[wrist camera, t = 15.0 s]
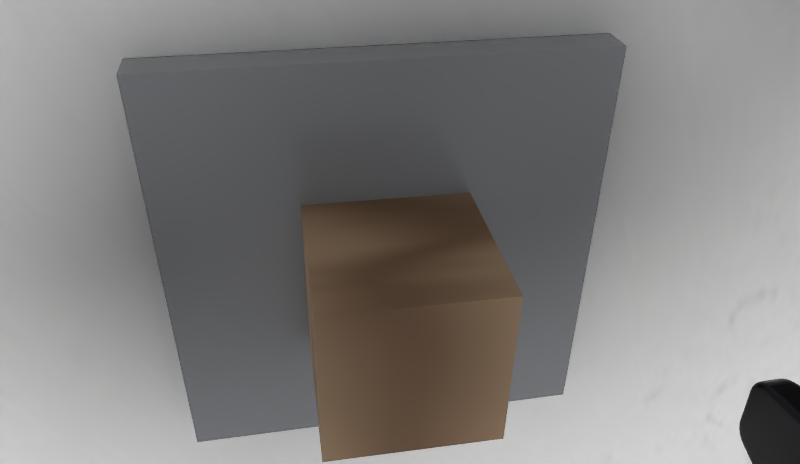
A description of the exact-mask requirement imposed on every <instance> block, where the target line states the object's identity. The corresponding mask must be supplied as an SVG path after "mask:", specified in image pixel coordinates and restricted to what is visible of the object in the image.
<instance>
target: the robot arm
mask: <svg viewBox="0 0 800 464" xmlns="http://www.w3.org/2000/svg"><path fill="white" fill-rule="evenodd" d="M739 429H740V436H741V439H742V442H743V444H744V447H745V449H746V451H747V453H748V455H749V457H750V460H751V462H752V464H800V386H799V385H798V384H796V383H794V382H792V381H790V380H787V379H774V380H768V381H761V382H758V383H756V384H755V385H754V386H753V387H752V389H751V391H750V394H749V397H748V400H747V403H746V406H745V409H744V412H743V414H742V417H741V420H740V428H739Z"/></svg>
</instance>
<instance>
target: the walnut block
mask: <svg viewBox="0 0 800 464" xmlns="http://www.w3.org/2000/svg"><path fill="white" fill-rule="evenodd" d="M300 206H301V220H302V235H303V250H304V264H305V279H306V294H307V308H308V323H309V338H310V347H311V357H312V366H313V375H314V385H315V394H316V404H317V413H318V423H319V432H320V442H321V451H322V461H323V462H326V461H334V460H341V459H349V458H357V457H364V456H372V455H380V454H387V453H395V452H403V451H410V450H418V449H426V448H434V447H441V446H449V445H457V444H464V443H472V442H480V441H487V440H495V439H503V436H504V429H505V422H506V415H507V408H508V401H509V394H510V386H511V379H512V372H513V365H514V358H515V351H516V344H517V337H518V330H519V323H520V315H521V308H522V301H523V295H522V293H521V291H520V289H519V287H518V285H517V283H516V281H515V279H514V277H513V275H512V273H511V272H510V270H509V268H508V266H507V264H506V262H505V260H504V258H503V256H502V254H501V252H500V250H499V248H498V246H497V244H496V242H495V240H494V238H493V236H492V234H491V232H490V231H489V229H488V227H487V225H486V223H485V221H484V219H483V217H482V215H481V213H480V211H479V209H478V207H477V205H476V203H475V201H474V199H473V197H472V195H471V193H459V194H446V195H432V196H419V197H406V198H392V199H379V200H365V201H352V202H338V203H325V204H312V205H300Z"/></svg>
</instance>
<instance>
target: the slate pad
mask: <svg viewBox="0 0 800 464" xmlns="http://www.w3.org/2000/svg"><path fill="white" fill-rule="evenodd" d="M625 51H626V45H624V44H623V43H622V42H620V41H619V40H618V39H616V38H615V37H614V36H613V35H611V34H610V33H605V34H586V35H567V36H549V37H530V38H511V39H492V40H473V41H454V42H435V43H416V44H397V45H378V46H360V47H341V48H322V49H303V50H284V51H265V52H246V53H227V54H208V55H190V56H171V57H152V58H133V59H123V60H122V63H121V65H120V67H119V70H118V72H117V79H118V83H119V88H120V93H121V97H122V102H123V106H124V111H125V115H126V120H127V124H128V129H129V133H130V138H131V142H132V147H133V151H134V156H135V161H136V165H137V170H138V174H139V179H140V183H141V188H142V192H143V197H144V201H145V206H146V210H147V215H148V219H149V224H150V229H151V233H152V238H153V242H154V247H155V251H156V256H157V260H158V265H159V269H160V274H161V278H162V283H163V287H164V292H165V297H166V301H167V306H168V310H169V315H170V319H171V324H172V328H173V333H174V337H175V342H176V346H177V351H178V355H179V360H180V365H181V369H182V374H183V378H184V383H185V387H186V392H187V396H188V401H189V405H190V410H191V414H192V419H193V423H194V428H195V433H196V437H197V442H201V441H208V440H216V439H224V438H231V437H239V436H247V435H254V434H262V433H270V432H277V431H285V430H293V429H300V428H308V427H316V426H319V423H318V413H317V404H316V394H315V385H314V375H313V366H312V357H311V347H310V338H309V323H308V308H307V294H306V279H305V264H304V250H303V235H302V220H301V206H300V205H312V204H325V203H338V202H352V201H365V200H379V199H392V198H406V197H419V196H432V195H446V194H459V193H471V195H472V197H473V199H474V201H475V203H476V205H477V207H478V209H479V211H480V213H481V215H482V217H483V219H484V221H485V223H486V225H487V227H488V229H489V231H490V232H491V234H492V236H493V238H494V240H495V242H496V244H497V246H498V248H499V250H500V252H501V254H502V256H503V258H504V260H505V262H506V264H507V266H508V268H509V270H510V272H511V273H512V275H513V277H514V279H515V281H516V283H517V285H518V287H519V289H520V291H521V293H522V295H523V301H522V308H521V315H520V323H519V330H518V337H517V344H516V351H515V358H514V365H513V372H512V379H511V386H510V394H509V401H515V400H522V399H530V398H538V397H545V396H553V395H561V394H563V391H564V386H565V380H566V375H567V369H568V364H569V358H570V353H571V347H572V342H573V336H574V331H575V325H576V320H577V314H578V309H579V304H580V298H581V293H582V287H583V282H584V276H585V271H586V265H587V260H588V254H589V249H590V243H591V238H592V232H593V227H594V221H595V216H596V210H597V205H598V199H599V194H600V188H601V183H602V177H603V172H604V166H605V161H606V155H607V150H608V144H609V139H610V133H611V128H612V122H613V117H614V111H615V106H616V100H617V95H618V89H619V84H620V78H621V73H622V67H623V62H624V56H625Z"/></svg>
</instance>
